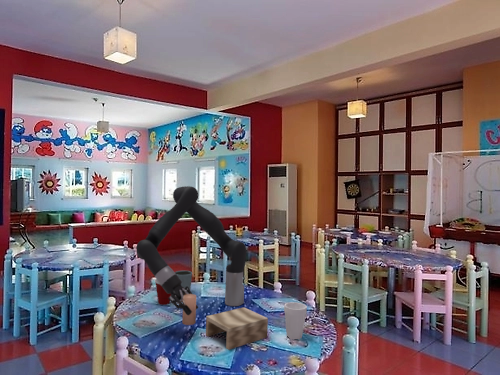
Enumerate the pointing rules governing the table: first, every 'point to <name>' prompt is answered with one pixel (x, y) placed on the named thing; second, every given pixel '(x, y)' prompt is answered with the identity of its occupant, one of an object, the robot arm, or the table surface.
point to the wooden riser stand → (238, 326)
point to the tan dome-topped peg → (190, 302)
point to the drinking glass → (185, 278)
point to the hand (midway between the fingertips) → (193, 311)
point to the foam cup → (295, 319)
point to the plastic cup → (162, 294)
